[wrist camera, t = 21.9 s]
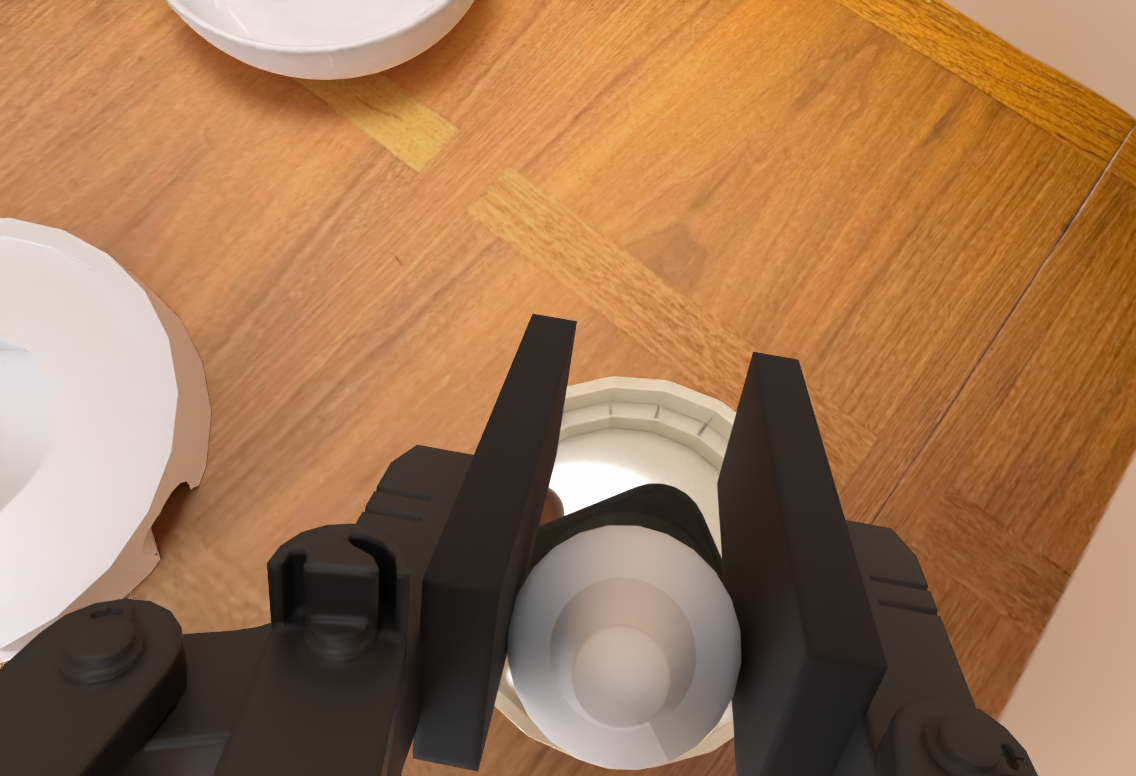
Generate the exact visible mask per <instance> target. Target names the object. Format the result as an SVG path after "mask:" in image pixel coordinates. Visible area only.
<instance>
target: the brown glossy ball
mask: <svg viewBox="0 0 1136 776" xmlns="http://www.w3.org/2000/svg"><path fill="white" fill-rule="evenodd" d="M563 516H565V512H564V506H563V503H562V501H561V499H560V497H559V496H558V495H557V493H556V492H555V491H554V490H552V489H551V488H548V492H547V496H546V500H545V504H544V508H543V512H542V516H541V520H540V524H539V526H540V525H543V524H545V523H548V522H550V521H553V520H555V519H558V518H560V517H563Z"/></svg>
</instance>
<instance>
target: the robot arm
mask: <svg viewBox="0 0 1136 776" xmlns="http://www.w3.org/2000/svg"><path fill="white" fill-rule="evenodd" d="M576 323H577V321H572V320H566V319H560V318H554V317H549V316H543V315H537V314H532V317H531V319H530V321H529V324H528V326H527V329H526V331H525V334H524V336H523V338H522V341H521V343H520V346H519V348H518V350H517V353H516V355H515V358H514V360H513V362H512V365H511V367H510V370H509V372H508V374H507V377H506V379H505V382H504V384H503V387H502V389H501V391H500V394H499V396H498V399H497V401H496V403H495V406H494V408H493V411H492V413H491V415H490V418H489V420H488V423H487V425H486V428H485V430H484V432H483V435H482V437H481V440H480V442H479V444H478V447H477V449H476V452H475V454H474V455H471V454H465V453H460V452H454V451H449V450H443V449H438V448H432V447H427V446H421V445H416V446H415V447H413V448H412V449H410V450H409V451H407V452H406V453H404V454H403V455H401V456H400V457H398V458H397V459H396V460H394V461H393V462H391V463H390V465H389V467H388V469H387V470H386V472H385V474H384V475H383V477H382V479H381V481H380V482H379V484H378V486H377V490H376V492H375V491H374V493H373V495H372V496H371V498H370V500H369V502H368V503H367V505H366V509H365V512H362V514H361V516H360V517H359V519H358V521H357V523H356V524H337V525H325V526H322V527H318V528H315V529H312V530H308V531H305V532H301V533H300V534H298V535H297V536H295V537H293V538H292V539H290V540H289V541H287V542H286V543H284V544H282V545H281V546H280V547H279V548H278V550H277V551H276V552H275V554H274V555H273V556H272V558H271V559H270V560H269V561H268V563H267V570H268V584H269V598H270V612H271V623H269V624H265V625H262V626H259V627H255V628H249V629H242V630H236V631H222V632H208V633H194V634H182V628H181V626H180V624H179V623H178V621H177V620H176V618H175V617H174V615H173V614H172V612H171V611H169V610H167V609H165V608H163V607H161V606H159V605H157V604H155V603H153V602H151V601H142V600H133V599H119V600H112V601H106V602H99V603H94V604H91V605H89V606H86V607H84V608H81V609H79V610H76V611H74V612H71V613H69V614H66V615H64V616H63V617H61V618H60V619H58V620H57V621H56V622H54V623H53V624H51V625H50V626H48V627H47V628H46V629H44V630H43V631H41V632H40V633H39V634H38V635H37V636H35V637H34V638H33V639H32V640H31V641H30V642H29V643H28V644H27V645H26V646H25V647H24V648H22V649H21V650H20V651H19V652H18V653H17V654H16V655H15V656H14V657H13V658H12V659H10V660H9V661H8V662H7V663H6V664H5V665H4V666H3V667H2V668H1V669H0V776H401V772H402V769H403V766H404V763H405V760H406V757H407V755H408V752H409V749H410V746H411V743H412V740H413V737H414V743H413V758H414V759H419V760H424V761H429V762H434V763H439V764H444V765H449V766H454V767H459V768H464V769H469V770H474V771H478V769H479V765H480V761H481V757H482V753H483V749H484V745H485V741H486V737H487V733H488V729H489V725H490V721H491V717H492V713H493V709H494V705H495V701H496V697H497V693H498V689H499V685H500V681H501V677H502V673H503V669H504V665H505V661H506V657H507V649H508V633H509V626H510V621H511V617H512V612H513V608H514V604H515V600H516V597H517V594H518V592H519V591H520V589H521V587H522V586H523V584H524V582H525V580H526V576H527V572H528V568H529V564H530V560H531V556H532V552H533V548H534V544H535V540H536V536H537V532H538V528H539V524H540V520H541V516H542V512H543V508H544V504H545V500H546V496H547V492H548V488H549V484H550V480H551V476H552V472H553V468H554V464H555V460H556V456H557V450H558V443H559V436H560V430H561V423H562V416H563V410H564V403H565V396H566V390H567V383H568V377H569V370H570V363H571V357H572V350H573V343H574V337H575V330H576ZM717 492H718V507H719V521H720V536H721V551H722V566H723V580H724V587H725V589H726V591H727V592H728V594H729V596H730V598H731V599H732V603H733V606H734V610H735V613H736V617H737V620H738V624H739V627H740V634H741V666H740V671H739V675H738V679H737V684H736V688H735V693H734V695H733V697H732V713H733V728H734V743H735V757H736V772H737V776H1038V775H1037V773H1036V771H1035V769H1034V767H1033V765H1032V763H1031V760H1030V758H1029V757H1028V754H1027V752H1026V750H1025V749H1024V748H1023V747H1022V746H1021V745H1020V744H1019V743H1018V741H1017V740H1016V739H1015V738H1014V737H1013V736H1012V735H1011V734H1010V732H1009V731H1008V730H1007V729H1006V728H1005V727H1004V726H1002V725H1001V724H999V723H998V722H997V721H995V720H994V719H993V718H991V717H990V716H988V715H987V714H986V713H984V712H983V711H982V710H980V709H978V708H976V707H975V704H974V702H973V699H972V696H971V694H970V691H969V689H968V686H967V684H966V681H965V679H964V676H963V674H962V671H961V668H960V666H959V663H958V661H957V658H956V656H955V653H954V651H953V648H952V646H951V643H950V640H949V638H948V635H947V633H946V630H945V628H944V625H943V623H942V620H941V618H940V616H937V607H936V605H935V602H934V600H933V597H932V595H931V592H930V591H927V587H928V584H927V582H926V579H925V577H924V574H923V572H922V569H921V567H920V564H919V562H918V559H917V556H916V555H915V554H914V553H913V552H912V551H911V550H910V549H909V548H908V546H907V545H906V544H905V543H904V542H903V541H902V540H901V539H900V538H899V536H898V535H897V534H896V533H895V532H894V531H893V530H892V529H891V528H886V527H880V526H875V525H869V524H864V523H858V522H853V521H848V520H845V518H844V514H843V511H842V508H841V504H840V501H839V497H838V494H837V490H836V487H835V483H834V480H833V477H832V473H831V470H830V466H829V463H828V459H827V456H826V453H825V449H824V446H823V442H822V439H821V435H820V432H819V429H818V425H817V422H816V418H815V415H814V411H813V408H812V405H811V401H810V398H809V394H808V391H807V387H806V384H805V381H804V377H803V374H802V370H801V367H800V363H799V360H797V359H791V358H786V357H780V356H774V355H768V354H763V353H757V352H753V354H752V358H751V362H750V365H749V369H748V373H747V376H746V380H745V383H744V387H743V391H742V394H741V398H740V402H739V405H738V409H737V412H736V416H735V420H734V423H733V427H732V431H731V434H730V438H729V441H728V445H727V449H726V452H725V456H724V460H723V463H722V467H721V470H720V474H719V478H718V481H717Z"/></svg>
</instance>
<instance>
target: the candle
mask: <svg viewBox="0 0 1136 776" xmlns="http://www.w3.org/2000/svg"><path fill="white" fill-rule="evenodd" d="M507 658H508V662H509V667H510V671H511V676H512V680H513V685H514V689H515V691H516V693H517V695H518V697H519V699H520V701H521V703H522V705H523V707H524V709H525V711H526V713H527V714H528V716H529V718H530V719H531V720H532V721H533V722H534V723H535V725H536V726H537V727H538V728H539V729H540V730H541V731H542V733H543V734H544V735H545V736H546V737H547V738H548V739H549V740H550V741H551V742H552V743H554V744H555V745H557V746H558V747H560V748H561V749H563V750H564V751H566V752H567V753H569V754H570V755H572V756H573V757H575V758H576V759H579V760H582V761H585V762H588V763H591V764H594V765H597V766H600V767H603V768H606V769H627V770H640V769H644V768H648V767H652V766H656V765H660V764H664V763H668V762H670V761H672V760H674V759H675V758H677V757H679V756H681V755H682V754H684V753H686V752H687V751H689V750H691V749H693V748H694V747H696V746H697V745H698V744H699V743H700V742H701V741H702V740H703V739H704V738H705V737H706V736H707V735H708V734H709V733H710V732H711V731H712V730H713V728H714V727H715V726H716V725H717V724H718V723H719V722H720V720H721V718H722V716H723V714H724V712H725V710H726V709H727V707H728V705H729V703H730V701H731V699H732V697H733V695H734V693H735V688H736V684H737V679H738V675H739V671H740V666H741V634H740V627H739V624H738V620H737V617H736V613H735V610H734V606H733V603H732V599H731V598H730V596H729V594H728V592H727V591H726V589H725V587H724V580H723V566H722V558H721V555H720V553H719V551H718V548H717V546H716V544H715V541H714V539H713V537H712V535H711V532H710V530H709V528H708V525H707V523H706V521H705V518H704V516H703V514H702V512H701V511H700V509H699V507H698V506H697V504H696V502H695V501H693V500H692V499H691V498H690V497H689V496H688V495H687V494H686V493H685V492H683V491H681V490H679V489H678V488H676V487H673V486H670V485H666V484H663V483H649V484H645V485H641V486H637V487H634V488H632V489H629V490H627V491H625V492H622V493H620V494H617V495H615V496H612V497H610V498H607V499H605V500H602V501H600V502H597V503H595V504H592V505H590V506H587V507H585V508H582V509H580V510H578V511H575V512H573V513H570V514H568V515H565V516H563V517H560V518H558V519H555V520H553V521H550V522H548V523H545V524H543V525H540V526H539V528H538V532H537V536H536V540H535V544H534V548H533V552H532V556H531V560H530V564H529V568H528V572H527V576H526V580H525V582H524V584H523V586H522V587H521V589H520V591H519V592H518V594H517V597H516V600H515V604H514V608H513V612H512V617H511V621H510V626H509V633H508V649H507Z"/></svg>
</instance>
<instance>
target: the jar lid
mask: <svg viewBox="0 0 1136 776" xmlns="http://www.w3.org/2000/svg"><path fill="white" fill-rule="evenodd" d="M735 416H736V412H735V411H733V410H732V409H731V408H729V407H728V406H727V405H726V404H724V403H723V402H721V401H720V400H717V399H715V398H712V397H710V396H707V395H704V394H702V393H699V392H697V391H694V390H692V389H689V388H687V387H684V386H682V385H679V384H676V383H674V382H671V381H668V380H659V379H646V378H633V377H620V376H610V377H605V378H601V379H596V380H592V381H588V382H583V383H579V384H575V385H570V386H567V390H566V396H565V403H564V410H563V416H562V423H561V430H560V436H559V443H558V450H557V456H556V460H555V464H554V468H553V472H552V476H551V480H550V484H549V488H551V489H552V490H554V491H555V492H556V493H557V495H558V496H559V497H560V499H561V501H562V503H563V506H564V512H565V515H568V514H570V513H573V512H575V511H578V510H580V509H582V508H585V507H587V506H590V505H592V504H595V503H597V502H600V501H602V500H605V499H607V498H610V497H612V496H615V495H617V494H620V493H622V492H625V491H627V490H629V489H632V488H634V487H637V486H641V485H645V484H649V483H663V484H666V485H670V486H673V487H676V488H678V489H679V490H681V491H683V492H685V493H686V494H687V495H688V496H689V497H690V498H691V499H692V500H693V501H695V502H696V504H697V506H698V507H699V509H700V511H701V512H702V514H703V516H704V518H705V521H706V523H707V525H708V528H709V530H710V532H711V535H712V537H713V539H714V541H715V544H716V546H717V548H718V551H719V553H720V555H721V558H722V551H721V536H720V521H719V507H718V492H717V481H718V478H719V474H720V470H721V467H722V463H723V460H724V456H725V452H726V449H727V445H728V441H729V438H730V434H731V431H732V427H733V423H734V420H735ZM494 706H495V707H497V708H498V709H499V710H500V711H501V712H502V713H503V714H504V715H505V716H506V717H507V718H508V719H509V720H511V721H512V722H513V723H514V724H515V725H516V726H517V727H518V728H519V729H520V730H521V731H522V732H523V733H525V734H526V735H527V736H529V737H530V738H532V739H534V740H537V741H539V742H541V743H543V744H546V745H548V746H550V747H552V748H555V749H557V750H559V751H561V752H564V753H566V754H568V755H570V754H569V753H567V752H566V751H564V750H563V749H561V748H560V747H558V746H557V745H555V744H554V743H552V742H551V741H550V740H549V739H548V738H547V737H546V736H545V735H544V734H543V733H542V731H541V730H540V729H539V728H538V727H537V726H536V725H535V723H534V722H533V721H532V720H531V719H530V718H529V716H528V714H527V713H526V711H525V709H524V707H523V705H522V703H521V701H520V699H519V697H518V695H517V693H516V691H515V689H514V685H513V680H512V676H511V671H510V667H509V662H508V658H507V657H506V661H505V665H504V669H503V673H502V677H501V681H500V685H499V689H498V693H497V697H496V701H495V705H494ZM733 737H734V728H733V713H732V699H731V701H730V703H729V705H728V707H727V709H726V710H725V712H724V714H723V716H722V718H721V720H720V722H719V723H718V724H717V725H716V726H715V727H714V728H713V730H712V731H711V732H710V733H709V734H708V735H707V736H706V737H705V738H704V739H703V740H702V741H701V742H700V743H699V744H698V745H697V746H696V747H694V748H693V749H691V750H689V751H687V752H686V753H684V754H682V755H681V756H679V757H677V758H675V759H674V760H672V761H670V762H668V763H664V764H660V765H656V766H652V767H648V768H654V767H658V766H662V765H665V764H669V763H673V762H676V761H680V760H684V759H688V758H691V757H695V756H699V755H702V754H706V753H710V752H712V751H714V750H716V749H717V748H719V747H720V746H722V745H723V744H725V743H726V742H727V741H729V740H730V739H732V738H733ZM570 756H572V755H570ZM581 761H582V760H581ZM584 762H585V761H584Z"/></svg>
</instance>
